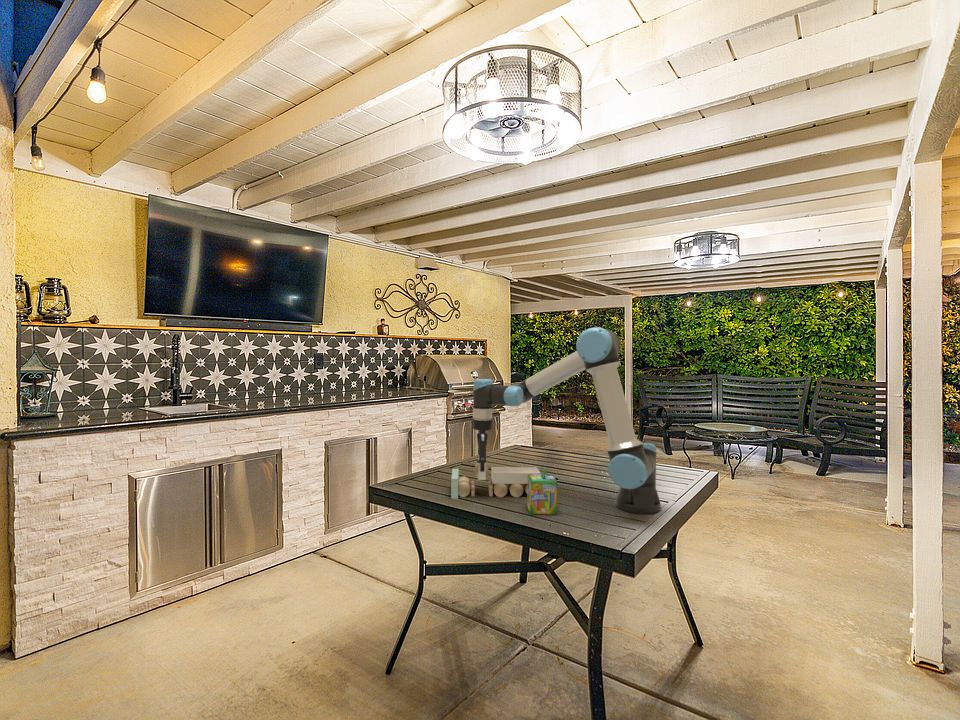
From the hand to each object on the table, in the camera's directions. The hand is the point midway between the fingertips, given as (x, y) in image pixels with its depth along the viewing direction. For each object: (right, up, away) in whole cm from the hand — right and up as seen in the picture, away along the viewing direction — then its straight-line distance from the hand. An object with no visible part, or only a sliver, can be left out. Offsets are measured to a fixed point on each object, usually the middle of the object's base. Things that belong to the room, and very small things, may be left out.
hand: (481, 475), depth 189 cm
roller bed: (+6, -7, 0) cm, 9 cm away
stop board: (-10, -6, 0) cm, 12 cm away
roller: (0, 0, 0) cm, 0 cm away
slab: (+13, -2, 0) cm, 13 cm away
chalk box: (+21, -7, -20) cm, 30 cm away
